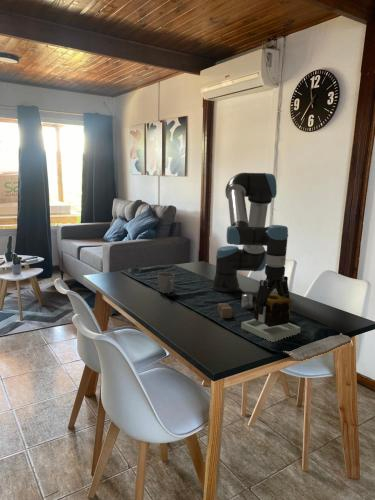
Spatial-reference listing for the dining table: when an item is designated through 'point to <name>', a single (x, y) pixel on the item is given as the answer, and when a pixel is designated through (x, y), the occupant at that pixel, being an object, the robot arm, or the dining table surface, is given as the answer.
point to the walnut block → (224, 310)
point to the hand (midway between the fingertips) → (271, 318)
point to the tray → (270, 330)
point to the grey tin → (247, 301)
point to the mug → (166, 282)
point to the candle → (275, 310)
